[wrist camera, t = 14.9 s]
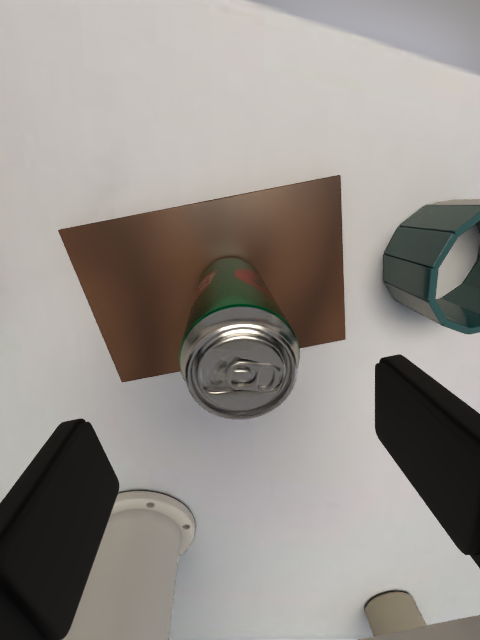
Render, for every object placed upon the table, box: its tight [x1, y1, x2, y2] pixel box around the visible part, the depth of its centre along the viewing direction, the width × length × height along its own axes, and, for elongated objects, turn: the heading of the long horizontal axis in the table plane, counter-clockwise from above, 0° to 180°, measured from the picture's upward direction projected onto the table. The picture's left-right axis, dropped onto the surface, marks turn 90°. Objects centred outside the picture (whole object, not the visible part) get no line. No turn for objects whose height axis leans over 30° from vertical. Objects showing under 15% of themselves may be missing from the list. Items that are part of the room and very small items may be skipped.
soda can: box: [179, 257, 300, 419], centre depth 16 cm, size 5×5×12 cm
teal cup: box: [383, 199, 480, 334], centre depth 20 cm, size 9×9×6 cm
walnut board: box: [58, 175, 345, 382], centre depth 22 cm, size 20×13×1 cm, turn 100°
